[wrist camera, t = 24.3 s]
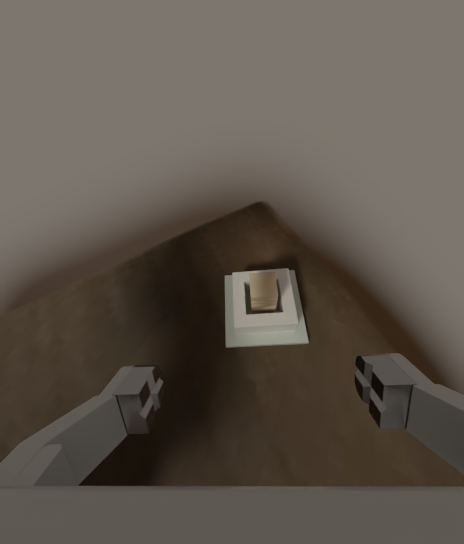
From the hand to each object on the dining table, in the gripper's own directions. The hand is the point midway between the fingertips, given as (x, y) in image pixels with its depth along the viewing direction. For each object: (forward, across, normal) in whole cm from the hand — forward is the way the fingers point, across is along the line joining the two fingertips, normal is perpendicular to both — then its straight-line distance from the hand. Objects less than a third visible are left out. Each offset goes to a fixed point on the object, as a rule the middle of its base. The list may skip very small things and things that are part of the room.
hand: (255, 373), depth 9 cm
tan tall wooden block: (+30, -2, +11) cm, 31 cm away
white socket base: (+30, -2, +11) cm, 32 cm away
